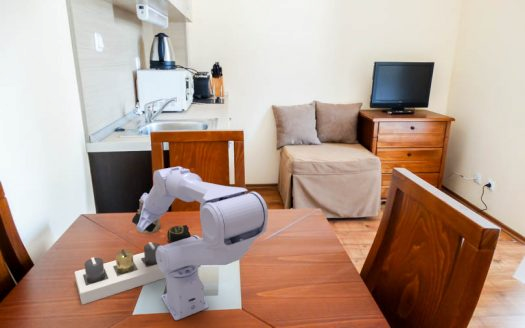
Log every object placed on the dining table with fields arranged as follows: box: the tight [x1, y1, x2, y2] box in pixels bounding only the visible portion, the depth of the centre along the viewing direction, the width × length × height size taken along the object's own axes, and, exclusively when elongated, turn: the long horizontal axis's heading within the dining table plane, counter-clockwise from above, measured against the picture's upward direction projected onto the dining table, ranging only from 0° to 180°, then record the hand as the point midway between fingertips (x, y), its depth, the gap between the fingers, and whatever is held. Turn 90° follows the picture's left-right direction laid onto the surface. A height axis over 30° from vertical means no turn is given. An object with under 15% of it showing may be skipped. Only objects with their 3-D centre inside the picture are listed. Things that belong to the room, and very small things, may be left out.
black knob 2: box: [143, 241, 161, 267], centre depth 92 cm, size 4×4×5 cm
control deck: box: [74, 252, 166, 305], centre depth 90 cm, size 10×22×3 cm, turn 124°
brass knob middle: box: [114, 248, 134, 275], centre depth 89 cm, size 4×4×5 cm
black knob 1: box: [84, 256, 105, 285], centre depth 85 cm, size 4×4×5 cm
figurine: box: [137, 198, 161, 235], centre depth 114 cm, size 7×7×12 cm
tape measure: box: [166, 224, 192, 243], centre depth 109 cm, size 7×7×4 cm
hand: (148, 216), depth 93 cm, fingers open, 7 cm apart
